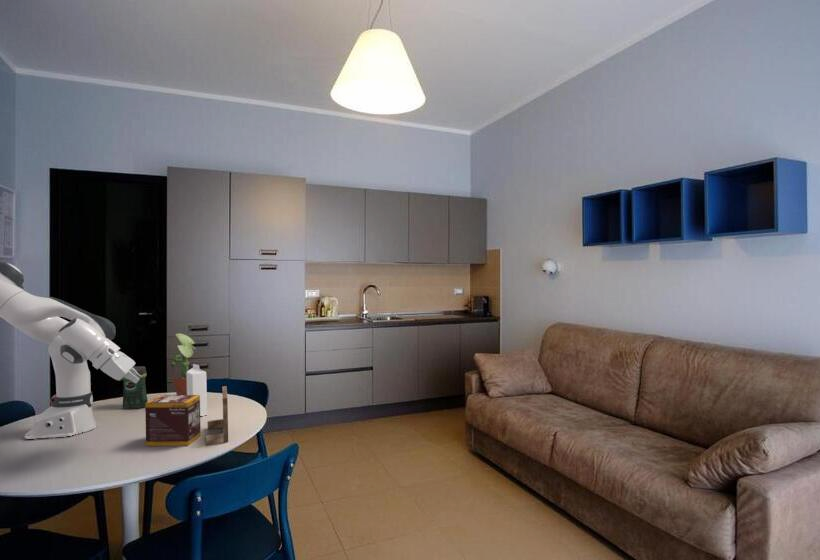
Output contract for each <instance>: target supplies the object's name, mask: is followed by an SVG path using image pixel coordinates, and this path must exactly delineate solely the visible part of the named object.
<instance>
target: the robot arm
mask: <svg viewBox="0 0 820 560" xmlns="http://www.w3.org/2000/svg"><path fill="white" fill-rule="evenodd" d="M24 281H25V277H24V275H23V273H22V271H21V270H20V269H19V268H18V267H17V266H16V265H13V264H11V263H9V262H8V263H7V262H6V261H5V262H4V261H0V319H3V320H4V321H6V322H7V323H8V324H10V325H11V326H13V327H14V328H15V329H17V330H19V331H21V332H22V333H24V334H25V335H27V336H28V337H30V338H31V339H34V340H37V341H39V342H43V343H44V344H47V345H48V348H47V350H48V351H47V352H48V355H49V357H50V358H51V361H52V366H53V370H54V375H55V389H56V390H55V392H56V394H54V395H53V396H52V397H51V398H50V400H49V404H50V406H49V407H47V409H46V410H44V411H43V412H41V413H40V414H39V415H38V416H37V417H35V418H34V421H33V423H32V426H31V429H30V430H29V431H27V432H26V433H25V434H24V438H42V437H64V436H71V437H73V436H72V435H74V436H76V435H79V434H82V432H83V433H87V432H89V431H91V430H93V429H94V430H95V428H96V427H97V423H96V420H95V417H94V411H93V405H94V403H93V401H94V397H93V396H94V395H93V391H91V385H92V383H91V371H90V369H89V366H88V360H89V361H90V362H91V363H92V367H94V369H96V370H99V369H100V370H101V372H103V373H104V374H106V375H107V376H109V377H111V378H112V379H114V380H115V381H122V378H123V377H125V378H127V379H129V380H131V381H133V382H134V383H137V382H138V381H139V379H140V378H141V375H139V374H138V373H137V371H136V370H135V369H134V368H132V367H134V366H135V365H136V362H135V360H134V359H132V357H129V356H128V355H126V354H125V353H124V352H122V351H120V350H121V347H119V345H117V344H116V343H115V342H113V341H112V340H114V339H115V337H116V326H115V324H114V323H113V322H112V321H111V320H110V319H108V318H105V317H103V316H100V315H96V314H94V313H91V312H88V311H86V310H84V309H82V308H79V307H78V306H76V305H73V304H71V303H69V302H67V301H65V300H62V299H60V298H56V297H53V296H45V297H42V296H38V295H34V294H31V293H29V292H28V291H26V290H24V288H25V287H24V286H23V284H24ZM61 317H62V318H61ZM66 319H67V320H66ZM68 320H70V321H68ZM78 433H79V434H78ZM75 434H76V435H75ZM64 438H65V437H64Z"/></svg>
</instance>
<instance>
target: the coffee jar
mask: <svg viewBox="0 0 820 560" xmlns="http://www.w3.org/2000/svg"><path fill="white" fill-rule="evenodd" d="M132 368H134V369H135V370H136V371H137V373H138V374H139V375H141V378H140V379H139V381H138V382H137V383H134V382H133V381H131V380H129V379H127V378H125V377H123V378H122V379H121V381H123V382H122V383H123V384H122V386H123V388H122V389H123V393H122V408H123V409H126V410H127V409H128V410H135V409H141V408H144V407H145V403H147V402H149V400H148V396H147V395H148V394H147V388H146V377H147V376H148V375H147V368H146V366H139V365H138V366H135V365H134V366H133V367H132Z"/></svg>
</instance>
